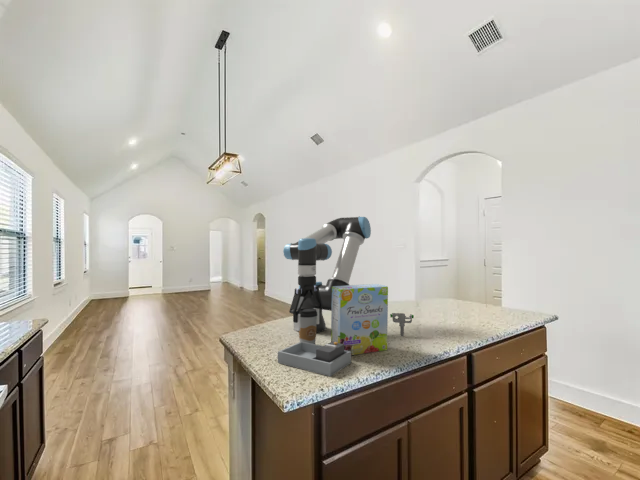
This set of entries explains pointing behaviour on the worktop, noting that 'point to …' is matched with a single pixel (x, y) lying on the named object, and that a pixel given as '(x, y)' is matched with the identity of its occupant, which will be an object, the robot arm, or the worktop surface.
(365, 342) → the snack box
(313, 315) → the coffee cup
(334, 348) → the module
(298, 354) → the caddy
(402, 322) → the mechanical component
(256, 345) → the worktop surface
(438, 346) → the worktop surface
